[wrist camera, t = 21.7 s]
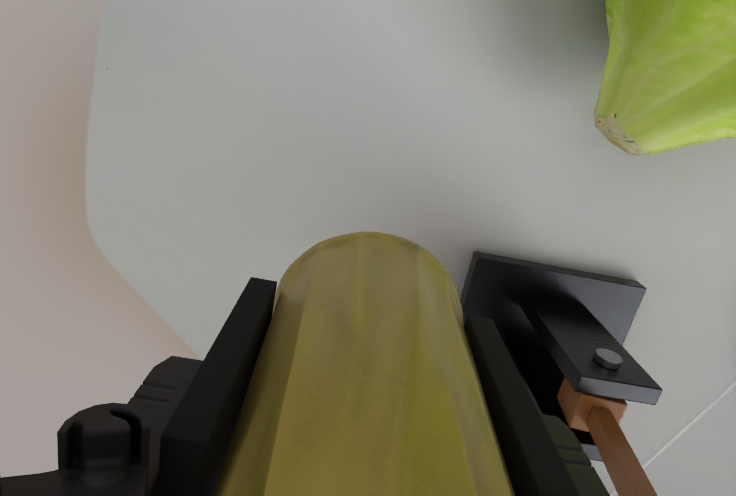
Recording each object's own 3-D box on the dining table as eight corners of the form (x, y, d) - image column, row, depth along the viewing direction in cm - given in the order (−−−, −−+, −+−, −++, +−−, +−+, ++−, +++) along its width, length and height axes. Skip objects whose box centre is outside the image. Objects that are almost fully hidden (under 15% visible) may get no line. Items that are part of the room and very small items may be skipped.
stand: (442, 360, 37) (471, 471, 26) (473, 250, 34) (519, 328, 24) (593, 386, 37) (678, 503, 27) (637, 281, 34) (751, 368, 24)
